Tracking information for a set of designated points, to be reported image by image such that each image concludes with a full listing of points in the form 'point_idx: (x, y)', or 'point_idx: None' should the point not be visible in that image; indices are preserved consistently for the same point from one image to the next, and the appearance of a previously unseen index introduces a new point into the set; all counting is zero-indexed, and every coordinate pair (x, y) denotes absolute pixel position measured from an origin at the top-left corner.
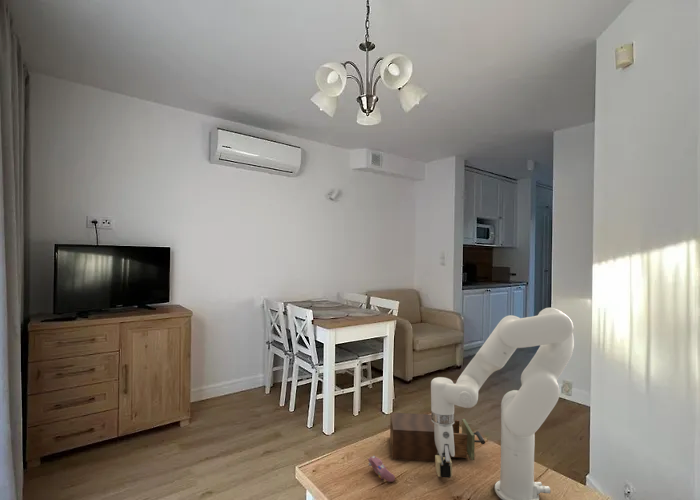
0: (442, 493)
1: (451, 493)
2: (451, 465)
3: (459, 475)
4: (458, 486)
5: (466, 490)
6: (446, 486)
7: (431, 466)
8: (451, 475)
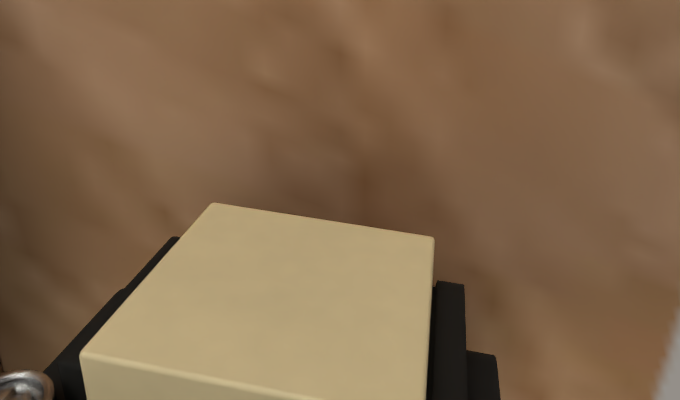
0: (638, 385)
1: (665, 288)
2: (426, 382)
3: (247, 16)
4: (525, 137)
5: (648, 48)
6: (504, 293)
7: (92, 313)
8: (432, 260)
